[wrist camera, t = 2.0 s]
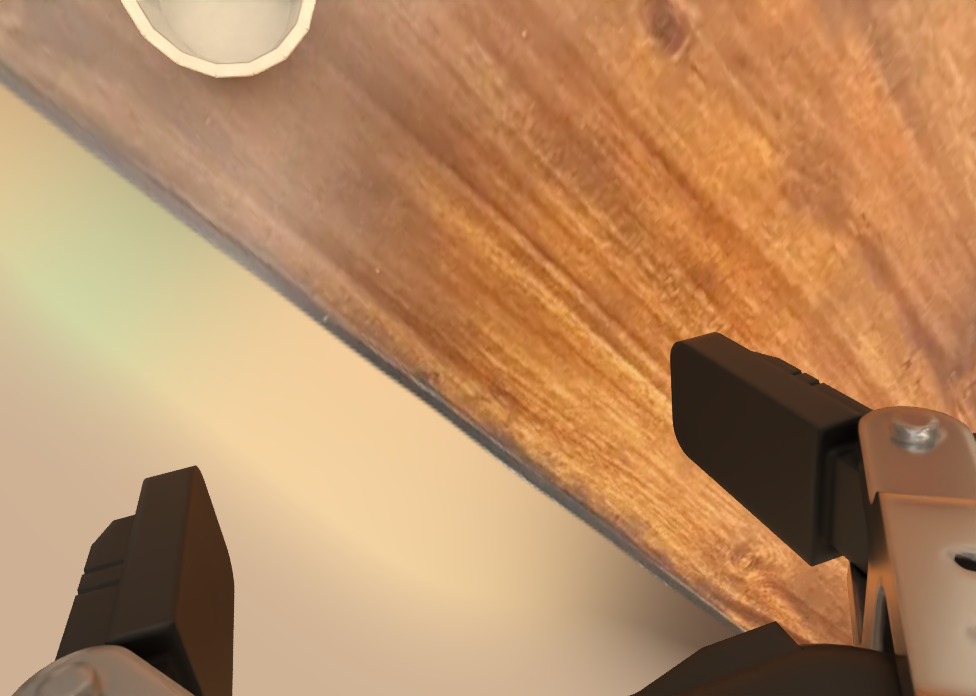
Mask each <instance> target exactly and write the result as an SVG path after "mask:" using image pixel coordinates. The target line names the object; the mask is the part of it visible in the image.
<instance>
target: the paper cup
mask: <svg viewBox="0 0 976 696" xmlns="http://www.w3.org/2000/svg"><path fill="white" fill-rule="evenodd" d="M120 2H121V3H122V5H123V7H124V8H125V10H126V11H127V13H128V15H129V16H130V18H131V19H132V21H133V23H134V24H135V26H136V27H137V29H138V31H139V32H140V34H141V35H142V36H143V37H144V39H145V40H147V41H148V42H149V43H150V44H152V45H153V46H154V47H155V48H156V49H158V50H159V51H160V52H161V53H163V54H164V55H165V56H166V57H168V58H169V59H170V60H171V61H173V62H174V63H175V64H178V65H179V66H181V67H184V68H187V69H190V70H193V71H196V72H199V73H202V74H205V75H208V76H211V77H214V78H231V77H249V76H253V75H254V76H255V75H257V74H259V73H261V72H263V71H265V70H267V69H269V68H271V67H273V66H275V65H277V64H279V63H281V62H283V61H285V60H286V59H287V58H288V57H289V56H290V54H291V53H292V52H293V51H294V49H295V48H296V47H297V45H298V44H299V43H300V42H301V40H302V39H303V38H304V37H305V35H306V34H307V33H308V30H309V29H310V25H311V21H312V17H313V13H314V9H315V6H316V2H317V0H120Z"/></svg>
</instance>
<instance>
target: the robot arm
mask: <svg viewBox="0 0 976 696" xmlns="http://www.w3.org/2000/svg"><path fill="white" fill-rule="evenodd" d="M670 365H671V391H672V416H673V427H674V432H675V435H676V438H677V440H678V443H679V445H680V447H681V448H682V450H683V451H684V453H685V454H686V455H687V456H688V457H689V458H690V459H691V460H692V461H693V462H695V463H696V464H697V465H698V466H699V467H700V468H701V469H702V470H704V471H705V472H706V473H707V474H708V475H709V476H710V477H711V478H713V479H714V480H715V481H716V482H717V483H718V484H719V485H720V486H722V487H723V488H724V489H725V490H726V491H727V492H728V493H729V494H731V495H732V496H733V497H734V498H735V499H736V500H737V501H738V502H739V503H741V504H742V505H743V506H744V507H745V508H746V509H747V510H748V511H750V512H751V513H752V514H753V515H754V516H755V517H756V518H757V519H759V520H760V521H761V522H762V523H763V524H764V525H765V526H766V527H768V528H769V529H770V530H771V531H772V532H773V533H774V534H775V535H777V536H778V537H779V538H780V539H781V540H782V541H783V542H784V543H786V544H787V545H788V546H789V547H790V548H791V549H792V550H793V551H795V552H796V553H797V554H798V555H799V556H800V557H801V558H802V559H804V560H805V561H806V562H807V563H808V564H809V565H810V566H811V567H812V566H815V565H817V564H820V563H823V562H826V561H829V560H832V559H835V558H837V557H840V556H845V557H846V558H847V559H848V573H847V585H848V595H849V605H850V615H851V625H852V635H853V645H854V646H849V645H838V644H801V645H798V644H797V643H796V642H795V641H794V640H793V639H792V638H791V637H790V636H789V635H788V634H787V633H786V632H785V631H784V629H783V628H782V627H781V626H780V625H779V624H778V623H777V622H776V621H775V622H772V623H769V624H766V625H764V626H761V627H758V628H755V629H753V630H750V631H747V632H744V633H742V634H739V635H736V636H733V637H731V638H728V639H725V640H723V641H720V642H717V643H715V644H712V645H709V646H706V647H703V648H701V649H700V650H698V651H697V652H695V653H694V654H693V655H691V656H690V657H688V658H687V659H685V660H684V661H682V662H681V663H680V664H678V665H677V666H675V667H674V668H672V669H671V670H669V671H668V672H667V673H665V674H664V675H662V676H661V677H659V678H658V679H657V680H655V681H654V682H652V683H651V684H649V685H648V686H646V687H645V688H644V689H642V690H641V691H639V692H637V693H635V694H633V695H630V696H976V433H972V432H971V430H970V429H969V428H968V427H967V426H966V425H965V424H964V423H962V422H961V421H959V420H957V419H956V418H954V417H952V416H949V415H947V414H944V413H941V412H938V411H934V410H930V409H925V408H919V407H908V406H897V407H886V408H881V409H877V410H874V411H873V410H872V409H870V408H868V407H866V406H864V405H863V404H861V403H859V402H857V401H855V400H854V399H852V398H850V397H848V396H846V395H845V394H843V393H841V392H839V391H837V390H835V389H834V388H832V387H830V386H828V385H826V384H825V383H821V384H820V383H819V380H817V379H816V378H814V377H812V376H810V375H808V374H807V373H803V374H802V372H801V370H799V369H798V368H796V367H794V366H792V365H790V364H789V363H787V362H785V361H783V360H781V359H780V358H776V357H772V356H768V355H765V354H761V353H757V352H753V351H750V350H748V349H746V348H745V347H743V346H741V345H739V344H738V343H736V342H734V341H732V340H731V339H729V338H727V337H725V336H724V335H722V334H720V333H717V332H714V333H709V334H706V335H702V336H698V337H694V338H690V339H686V340H682V341H679V342H676V343H675V344H674V345H673V347H672V349H671V354H670ZM84 572H85V574H84V575H82V577H81V581H80V584H79V587H78V590H77V591H78V595H77V596H75V599H74V602H73V606H72V609H71V612H70V615H69V618H68V621H67V625H66V628H65V631H64V634H63V637H62V640H61V643H60V647H59V650H58V653H57V656H56V659H55V661H54V662H52V663H51V664H49V665H48V666H46V667H44V668H43V669H41V670H40V671H38V672H37V673H36V674H35V675H33V676H32V677H31V678H29V679H28V680H27V681H26V682H25V683H24V684H23V685H22V686H21V687H19V689H18V690H17V691H16V692H15V693H14V694H13V695H12V696H232V678H233V630H234V629H233V628H234V579H233V572H232V566H231V562H230V557H229V553H228V550H227V547H226V544H225V541H224V538H223V535H222V532H221V529H220V526H219V523H218V520H217V517H216V515H215V511H214V508H213V505H212V502H211V499H210V496H209V493H208V490H207V487H206V484H205V481H204V479H203V476H202V474H201V472H200V470H199V468H198V467H197V466H192V467H188V468H184V469H181V470H176V471H173V472H169V473H165V474H161V475H157V476H153V477H150V478H146V479H145V480H144V481H143V485H142V489H141V493H140V497H139V501H138V505H137V510H136V514H135V515H133V516H129V517H125V518H121V519H117V520H114V521H113V522H112V523H111V524H110V525H109V526H108V527H107V528H106V530H105V531H104V532H103V533H102V534H101V536H100V537H99V538H98V539H97V540H96V541H95V542H94V543H93V544H92V546H91V549H90V552H89V555H88V559H87V562H86V565H85V568H84Z"/></svg>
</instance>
